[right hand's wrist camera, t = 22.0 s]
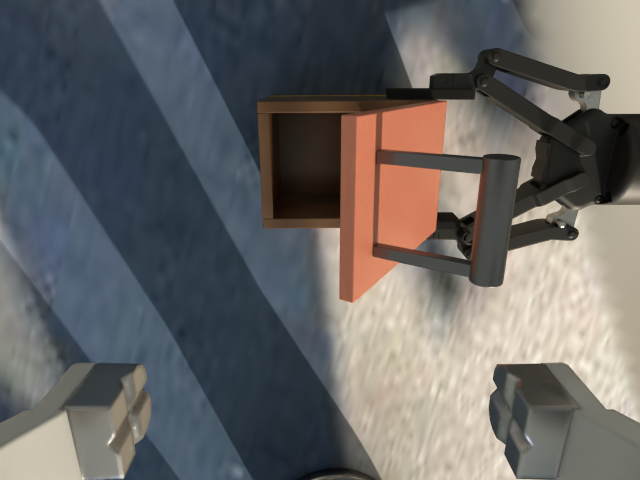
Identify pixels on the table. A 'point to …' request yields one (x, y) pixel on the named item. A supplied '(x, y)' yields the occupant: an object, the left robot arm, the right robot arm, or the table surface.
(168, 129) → the table surface
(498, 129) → the table surface
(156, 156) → the table surface
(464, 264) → the lid
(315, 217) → the chest
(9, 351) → the table surface
